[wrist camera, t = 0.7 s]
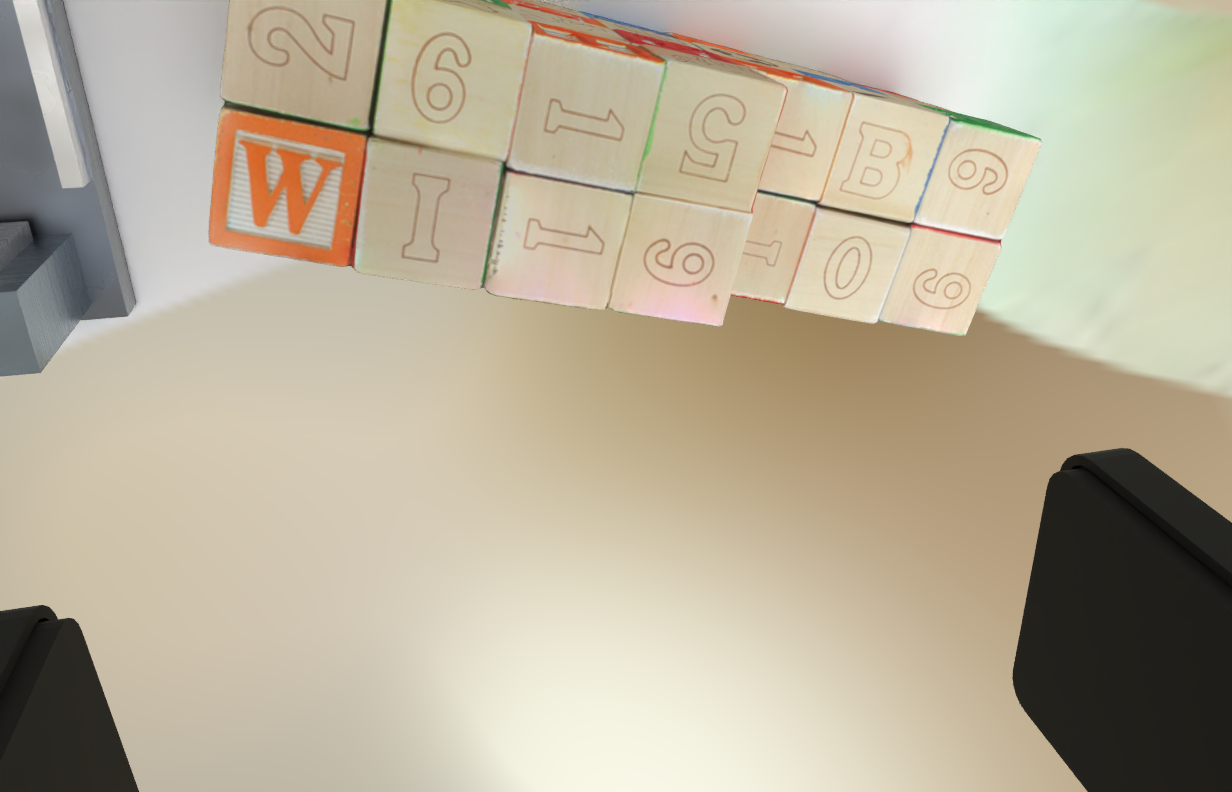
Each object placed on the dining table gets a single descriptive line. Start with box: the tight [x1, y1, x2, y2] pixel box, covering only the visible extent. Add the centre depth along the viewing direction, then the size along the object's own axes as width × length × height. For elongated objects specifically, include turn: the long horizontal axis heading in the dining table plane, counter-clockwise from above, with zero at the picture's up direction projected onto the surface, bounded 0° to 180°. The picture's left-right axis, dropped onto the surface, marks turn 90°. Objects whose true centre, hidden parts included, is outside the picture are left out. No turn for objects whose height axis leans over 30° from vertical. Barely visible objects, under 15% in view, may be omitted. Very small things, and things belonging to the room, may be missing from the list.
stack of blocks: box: [209, 0, 1042, 336], centre depth 29 cm, size 21×6×12 cm, turn 76°
